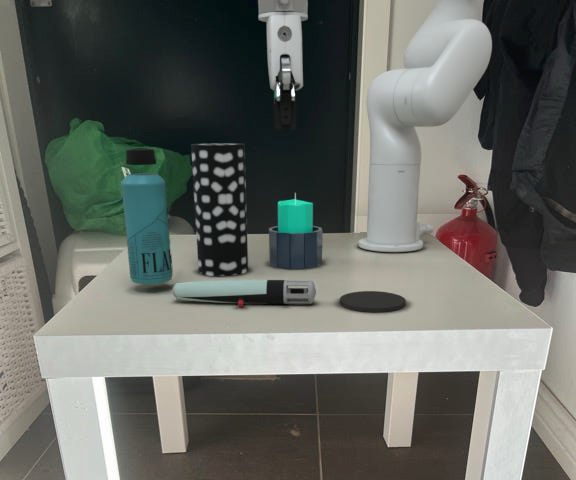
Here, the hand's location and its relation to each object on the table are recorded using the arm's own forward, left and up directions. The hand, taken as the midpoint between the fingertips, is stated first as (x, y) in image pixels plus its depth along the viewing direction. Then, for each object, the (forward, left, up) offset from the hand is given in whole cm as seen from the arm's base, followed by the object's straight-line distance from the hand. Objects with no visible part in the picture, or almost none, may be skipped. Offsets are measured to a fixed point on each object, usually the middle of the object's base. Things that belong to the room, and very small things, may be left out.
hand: (284, 129), depth 104 cm
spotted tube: (+11, -2, -22) cm, 25 cm away
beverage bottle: (+26, +3, -22) cm, 34 cm away
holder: (-2, 0, -22) cm, 22 cm away
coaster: (+4, +28, -22) cm, 36 cm away
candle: (-2, 0, -22) cm, 22 cm away
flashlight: (+19, +18, -22) cm, 34 cm away
